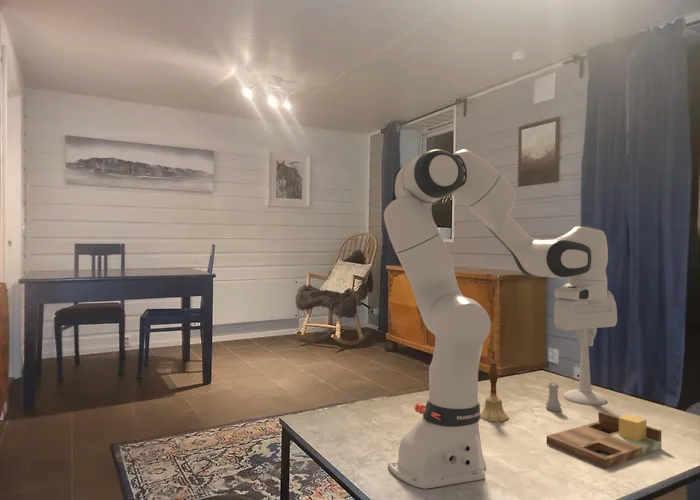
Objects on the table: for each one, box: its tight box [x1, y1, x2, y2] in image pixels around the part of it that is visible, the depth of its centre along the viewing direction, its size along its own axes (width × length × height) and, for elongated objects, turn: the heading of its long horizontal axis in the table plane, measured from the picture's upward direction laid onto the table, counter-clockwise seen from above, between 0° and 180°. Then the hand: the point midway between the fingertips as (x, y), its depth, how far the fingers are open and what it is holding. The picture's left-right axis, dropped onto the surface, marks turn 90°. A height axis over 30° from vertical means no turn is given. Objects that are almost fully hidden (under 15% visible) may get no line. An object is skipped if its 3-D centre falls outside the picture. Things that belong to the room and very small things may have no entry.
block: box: [619, 414, 647, 441], centre depth 123 cm, size 4×4×4 cm
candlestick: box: [563, 333, 608, 406], centre depth 160 cm, size 13×13×30 cm
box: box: [546, 411, 663, 469], centre depth 121 cm, size 22×16×4 cm
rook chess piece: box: [545, 381, 562, 412], centre depth 150 cm, size 4×4×8 cm
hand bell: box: [480, 362, 510, 423], centre depth 143 cm, size 8×8×16 cm
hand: (586, 346), depth 122 cm, fingers closed
